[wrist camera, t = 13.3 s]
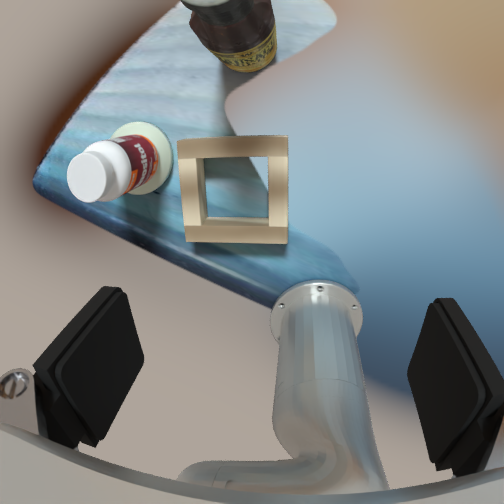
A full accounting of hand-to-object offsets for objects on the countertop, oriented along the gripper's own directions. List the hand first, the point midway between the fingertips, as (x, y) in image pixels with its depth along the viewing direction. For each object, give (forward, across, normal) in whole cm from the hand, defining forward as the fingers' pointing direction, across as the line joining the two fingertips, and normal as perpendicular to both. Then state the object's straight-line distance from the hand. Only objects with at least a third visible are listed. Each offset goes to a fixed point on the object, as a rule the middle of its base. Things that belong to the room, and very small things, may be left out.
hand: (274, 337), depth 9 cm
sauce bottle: (+28, +4, -14) cm, 32 cm away
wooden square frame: (+28, +6, +2) cm, 29 cm away
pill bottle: (+28, +18, -2) cm, 33 cm away
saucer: (+28, +18, -2) cm, 34 cm away
